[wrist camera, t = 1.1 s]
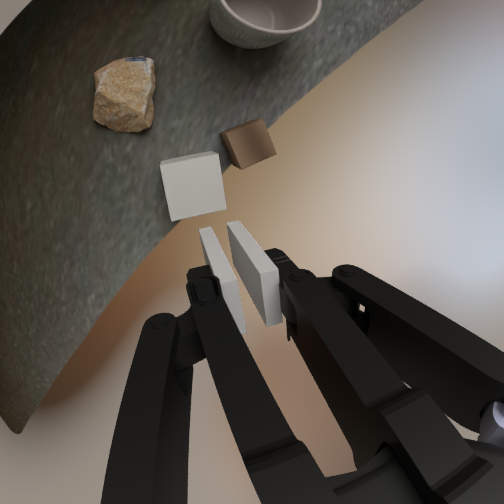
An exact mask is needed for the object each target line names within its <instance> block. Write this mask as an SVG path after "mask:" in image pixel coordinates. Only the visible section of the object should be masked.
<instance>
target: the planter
mask: <svg viewBox="0 0 504 504" xmlns="http://www.w3.org/2000/svg"><path fill="white" fill-rule="evenodd" d="M321 5H322V0H210V5H209V18H210V22H211V24H212V27H213V28H214V30H215V32H216V33H217V34H218V35H219V36H220V37H221V38H222V39H224V40H225V41H227V42H228V43H230V44H232V45H234V46H237V47H241V48H246V49H260V48H266V47H269V46H272V45H275V44H277V43H279V42H281V41H283V40H285V39H287V38H289V37H291V36H293V35H295V34H297V33H298V32H300V31H302V30H304V29H306V28H308V27H309V26H310V25H312V24H313V23H314V22H315V20H316V19H317V17H318V16H319V13H320V11H321Z"/></svg>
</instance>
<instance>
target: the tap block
mask: <svg viewBox="0 0 504 504" xmlns="http://www.w3.org/2000/svg"><path fill="white" fill-rule="evenodd" d="M160 169H161V174H162V179H163V184H164V189H165V194H166V199H167V203H168V208H169V213H170V217H171V222H172V221H176V220H180V219H185V218H189V217H193V216H198V215H203V214H207V213H212V212H216V211H221V210H226V209H227V207H226V201H225V195H224V189H223V181H222V174H221V168H220V161H219V154H217V153H215V152H213V151H209V152H203V153H198V154H193V155H188V156H183V157H178V158H173V159H169V160H164V161H161V164H160Z"/></svg>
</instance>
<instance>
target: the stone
mask: <svg viewBox="0 0 504 504" xmlns="http://www.w3.org/2000/svg"><path fill="white" fill-rule="evenodd" d="M153 64H154V62H153V60H152V59H150V58H146V56H145V57H143V56H139V57H127V58H124V59H119V60H115V61H113V62H111V63H110V64H108V65H107V66H104V67H102V68H100V69H99V70H98V71H96V72H95V73H94V78H95V88H96V92H95V94H94V98H95V100H94V109H93V119H94V120H95V121H97V122H98V123H100V124H101V125H103V126H107V128H110V129H111V130H114V131H115V132H128V133H132V132H140V131H142V130H143V129H146V128H149V127H150V126H151V124H152V123H153V118H154V113H155V111H154V110H155V107H154V103H153V101H152V96H153V93H154V90H155V83H156V78H155V74H154V73H155V69H154V65H153Z"/></svg>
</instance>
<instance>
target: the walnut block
mask: <svg viewBox="0 0 504 504" xmlns="http://www.w3.org/2000/svg"><path fill="white" fill-rule="evenodd" d="M219 134H220V136H221V139H222V141H223V143H224V145H225V148H226V150H227V152H228V155H229V157H230V159H231V162H232V164H233V166H235V167H237V168H239V169H241V170H242V169H244V168H246V167H249V166H251V165H253V164H255V163H258V162H260V161H262V160H264V159H267V158H269V157H271V156H274V155H276V151H275V149H274V146H273V143H272V141H271V138H270V136H269V133H268V130H267V128H266V125H265V123H264V120H263V119H255V120H251V121H248V122H245V123H243V124H241V125H238V126H236V127H233V128H231V129H228V130H226V131H224V132H221V133H219Z"/></svg>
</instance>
